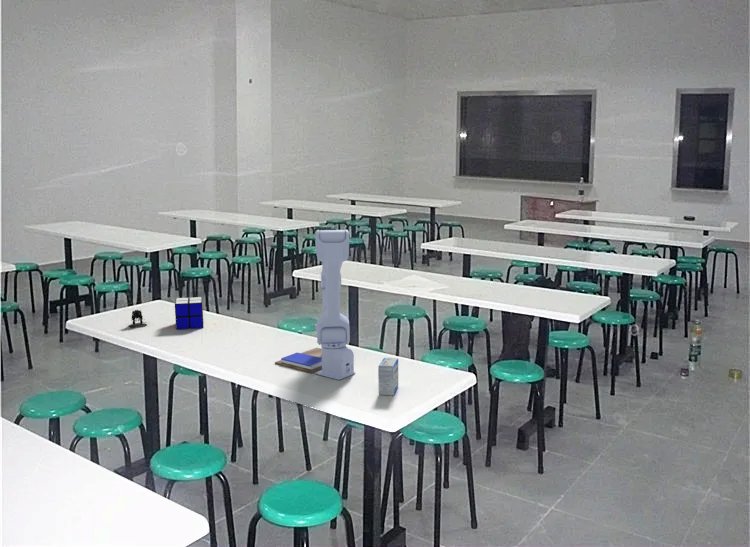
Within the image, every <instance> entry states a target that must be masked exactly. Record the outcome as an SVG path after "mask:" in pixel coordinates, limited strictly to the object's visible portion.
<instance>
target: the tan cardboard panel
mask: <svg viewBox="0 0 750 547" xmlns="http://www.w3.org/2000/svg"><path fill="white" fill-rule="evenodd" d="M301 353H302V354H306V355H311V356H315V357H320V358H322V347H321V348H320V347H315V348H312V349H311V348H310V349H308V350H306V351H303V352H301ZM274 364H275V365H279V366H282V367H286V368H290V369H293V370H294V369H295V370H297V371H301V372H305V373H309V374H316V372H318V371H321V370H322V366H320V367H317V368H315V369H312V370H311V369H307V368H303V367H298V366H294V365H290V364H286V363H282V362H281V359H280V360H277V361H275V362H274Z"/></svg>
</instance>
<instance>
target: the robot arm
mask: <svg viewBox="0 0 750 547" xmlns="http://www.w3.org/2000/svg"><path fill="white" fill-rule="evenodd" d="M315 250H316V251H315V252H316V257H317V261H320V262H322V264H321V268H322V269H321V273H320V287H321V290H322V292H321V293H322V294H321V295H322V315H321V316H320V317H319V318H318V319H317V323H316V324H314V331H316V339H317V340H316V342H317V344H318V345H319V346H320V347H321V349H322V370H321V371H318V372H316V373H315V375H319V376H322V377H326V378H331V379H334V380H338V381H340V380H343V379H346V378H347V377H351V376H352V375H354V374H356V371H355V370H354V369H355V367H354V364H355V363H354V362H355V361H354V357H355V356H354V352H353V350H352V349H351V348H348V346H347V345H349V343H350V342H351V336H350V335H351V329H350V328H351V326H350V320H349V318H348V316H347V315H344V314H342V313H341V289H342V288H341V287H342V272H341V269H342V266H343V263H344V262H345V261H347V260H348V259H349V256H350V231H349V230H348V229H346V228H345V229H324V230H323V229H320V230H319V229H317V230H316V231H315Z"/></svg>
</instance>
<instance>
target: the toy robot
mask: <svg viewBox="0 0 750 547" xmlns="http://www.w3.org/2000/svg"><path fill="white" fill-rule="evenodd" d="M142 313H143V312H142V310H141V309H140V310H139V309H135V310H132V312H131V320H130V322H132V323H130V324H129V325H128V326H127V327H128V328H129V327H130V329H140V328H145V327H147V326H148V324H147V321H145V319H144V317H143V315H142ZM137 321H138V322H137ZM136 322H137V323H136Z"/></svg>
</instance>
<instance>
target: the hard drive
mask: <svg viewBox="0 0 750 547" xmlns="http://www.w3.org/2000/svg"><path fill="white" fill-rule="evenodd" d="M302 353H303V352H295V353H292V354H289V355H287V356H283V357H281V358H280V360H281V362H282V363H286V364H290V365H294V366H298V367H303V368H307V369H311V370H312V369H315V368H317V367H320V366H322V358H320V357H315V356H311V355H306V354H302Z"/></svg>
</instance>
